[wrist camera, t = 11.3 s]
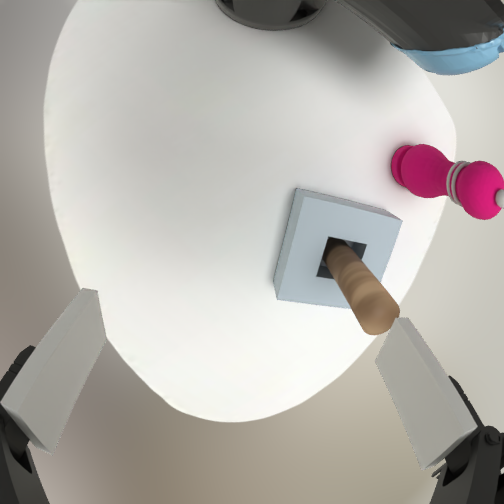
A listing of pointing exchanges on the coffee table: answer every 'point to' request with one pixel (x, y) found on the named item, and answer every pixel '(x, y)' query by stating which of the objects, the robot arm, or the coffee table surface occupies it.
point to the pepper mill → (450, 179)
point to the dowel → (360, 288)
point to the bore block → (314, 241)
